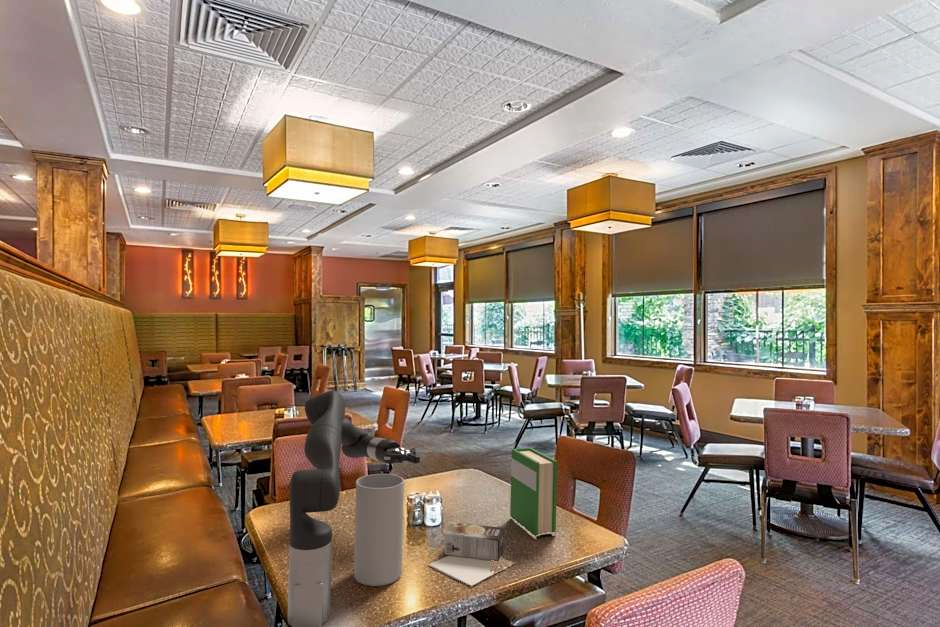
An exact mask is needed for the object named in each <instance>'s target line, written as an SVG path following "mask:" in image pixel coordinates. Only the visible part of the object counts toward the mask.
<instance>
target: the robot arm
mask: <svg viewBox="0 0 940 627" xmlns="http://www.w3.org/2000/svg"><path fill="white" fill-rule="evenodd" d="M304 412H305V416H306V418H307V420H308V422H309V423H310V424H311V425H312V426H311V427H310V428H309V430H308V432H307V433H306V437H305V441H304V442H305V443H304V447H303V448H304V449H303V450H304V455H305V457H306V459H307V460H308V462H310V464H311V465H312V466H313V467H314V468H316V469H302V470H301V469H300V470H296V471H294V472H292V473H293V474H292V475H291V478H290V483H289V493H288V494H289V497H288V498H289V522H290V523H289V546H288V547H289V550H288V554H289V555H288V586H287V588H288V590H287V591H288V592H287V623H288V625H289V626H291V627H323V624H325V623H326V622H327V621H328V620H329V619H330V617H331V586H332V584H331V583H332V549H333V548H332V546H333V530H332V529H333V528H332V526H331V525H329V523H327V522H325V521H323V520H322V521H321V520H318V519H315V518H314V517H312V516H310V515H309V514H308V513H322V512H323V513H325V512H329V511H332V510H334V509H335V508H336V507H337V505H338V503H339V500H340V494H341V492H340V491H341V484H340V483H341V481H340V477H341V476H340V456H341V452H342V454H343V455H344V456H346V457H348V458H352V459H358V458H365V457H366V458H369V459H373V461H376V462H380V463H383V464H387V465H393V464H396V463H397V464H398V463H399V464H403V463H412V464H419V463H420V462H421V456H420V455H418V454H417V451H416V448H415V447H412V448H411V449H410V450H409V449H407V448H404V447H402V446H401V445H400V443H399V442H398V441H396V440H392V439H387V438H384V437H377V436H373V435H369V433H368V431H367V430H365V429H364V428H361V427H358V426H355V425H354V423H353V422H352V421H350V420H349V419H347V418H345V416H346V404H345V401H344V397H343V396H342V394H341V393H340V392H339V391H337V390H329V391H325V392H322V393H320V394H317V395H314V396H313V397H310V398H309V399H307V400H306V401H305V403H304Z"/></svg>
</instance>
